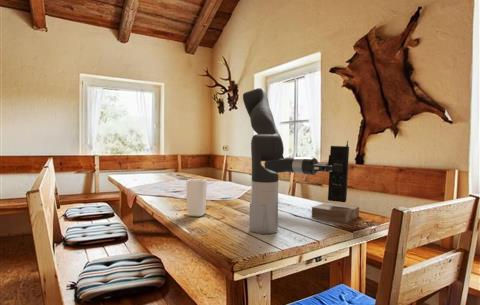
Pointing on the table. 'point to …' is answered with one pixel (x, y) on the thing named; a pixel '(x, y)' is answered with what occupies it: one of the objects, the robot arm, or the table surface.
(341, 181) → the portable radio
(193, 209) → the cup
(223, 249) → the table surface
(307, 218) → the table surface
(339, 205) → the walnut stand
